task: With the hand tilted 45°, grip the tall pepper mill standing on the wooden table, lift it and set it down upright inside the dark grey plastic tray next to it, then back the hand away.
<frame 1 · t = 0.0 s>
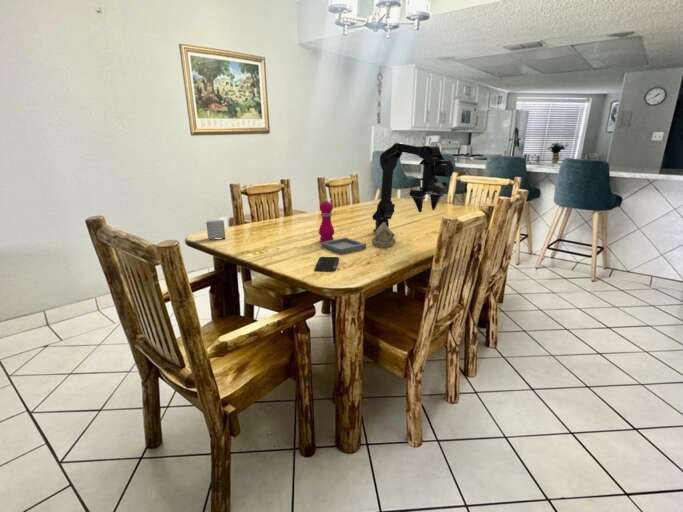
hand: (426, 211, 163), 15 cm above the table, tool pointing down, fingers open, 9 cm apart
ceramic model: (383, 243, 166), on the table
pepper mill: (326, 241, 170), on the table
grey tray: (343, 247, 159), on the table
medicine box: (217, 239, 174), on the table
phone: (327, 266, 137), on the table
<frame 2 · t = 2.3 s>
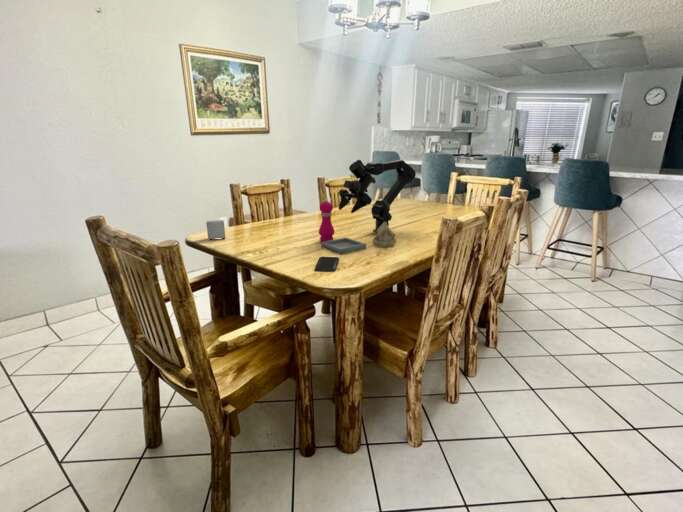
hand: (345, 210, 170), 13 cm above the table, tool tilted 45°, fingers open, 9 cm apart
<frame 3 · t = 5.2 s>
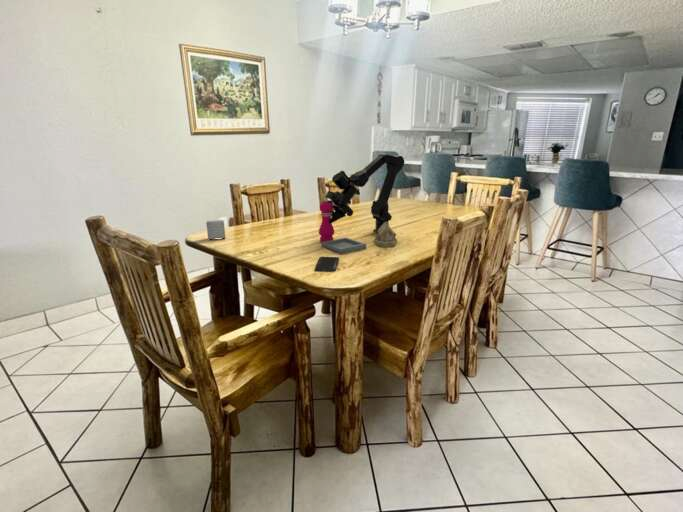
hand: (326, 221, 167), 9 cm above the table, tool tilted 45°, fingers closed on pepper mill, 5 cm apart
pepper mill: (326, 241, 170), on the table, touching gripper
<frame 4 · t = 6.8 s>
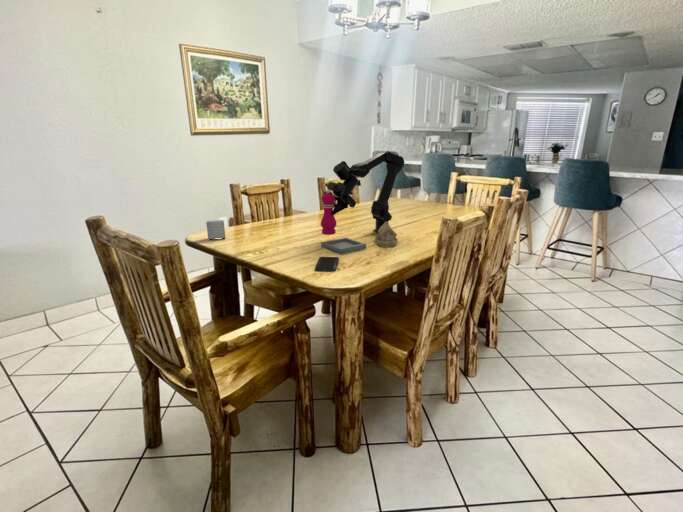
hand: (328, 213, 164), 13 cm above the table, tool tilted 45°, fingers closed on pepper mill, 5 cm apart
pepper mill: (328, 233, 167), point 4 cm above the table, touching gripper
when the fingers open (11 cm above the table, at t = 8.5 s): pepper mill drops 1 cm, resting on grey tray.
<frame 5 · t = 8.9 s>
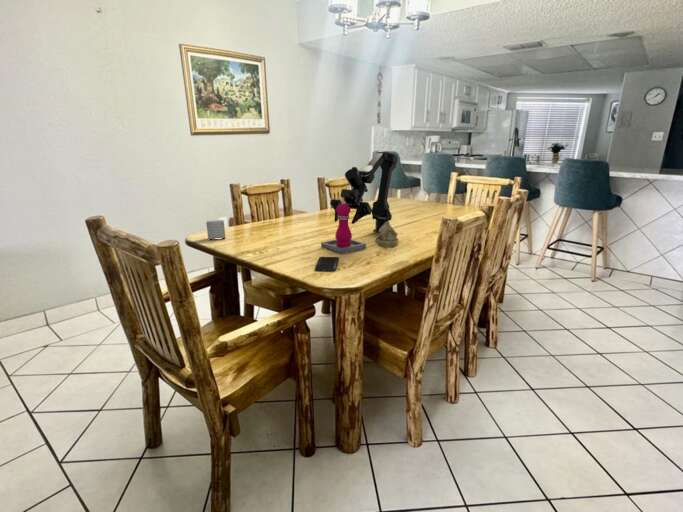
hand: (343, 222, 155), 11 cm above the table, tool tilted 45°, fingers open, 8 cm apart
pepper mill: (343, 246, 159), point 1 cm above the table, touching grey tray
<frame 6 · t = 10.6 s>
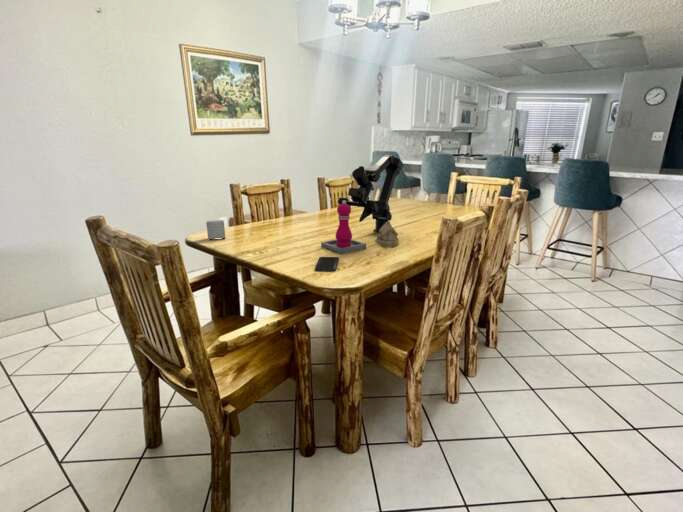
hand: (350, 220, 160), 11 cm above the table, tool tilted 45°, fingers open, 9 cm apart
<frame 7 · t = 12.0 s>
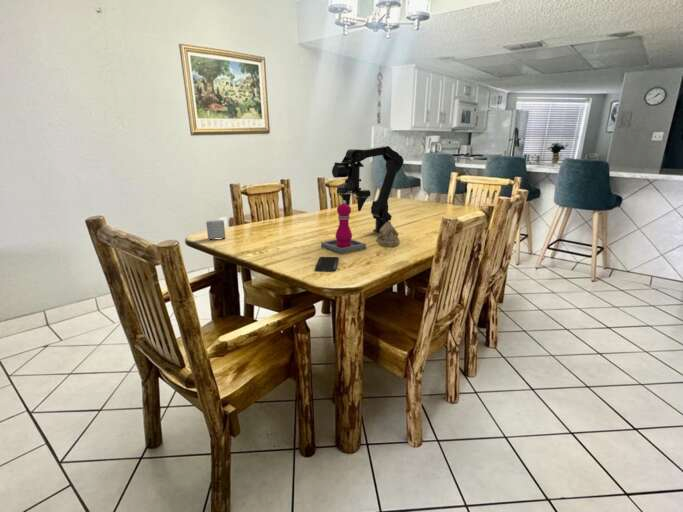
hand: (352, 209, 175), 13 cm above the table, tool pointing down, fingers open, 9 cm apart
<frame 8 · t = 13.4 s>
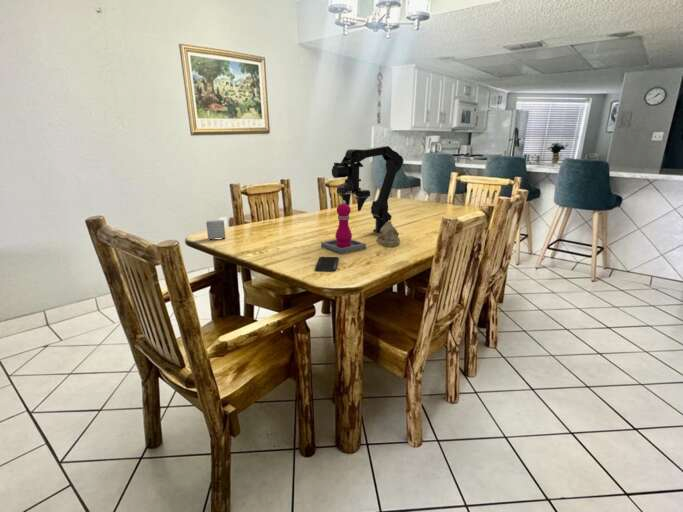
hand: (352, 209, 175), 13 cm above the table, tool pointing down, fingers open, 9 cm apart
at the end: pepper mill inside the target area on the grey tray (0.4 cm from its centre), point 0.6 cm above the grey tray's base; pepper mill tilted 0°; the gripper is holding nothing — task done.
